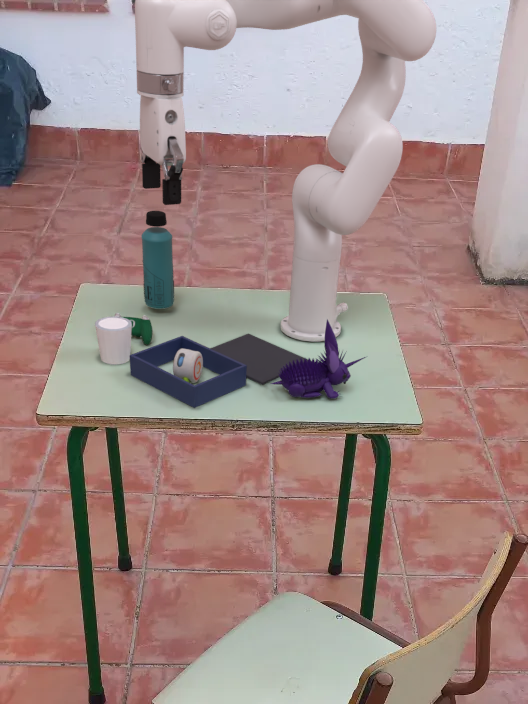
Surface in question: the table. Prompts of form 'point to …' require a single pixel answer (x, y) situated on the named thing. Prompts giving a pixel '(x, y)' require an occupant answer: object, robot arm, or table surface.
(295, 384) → the creature
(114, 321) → the white cup
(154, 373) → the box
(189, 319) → the table surface
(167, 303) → the beverage bottle
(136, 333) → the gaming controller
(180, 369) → the roller toy
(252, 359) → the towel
